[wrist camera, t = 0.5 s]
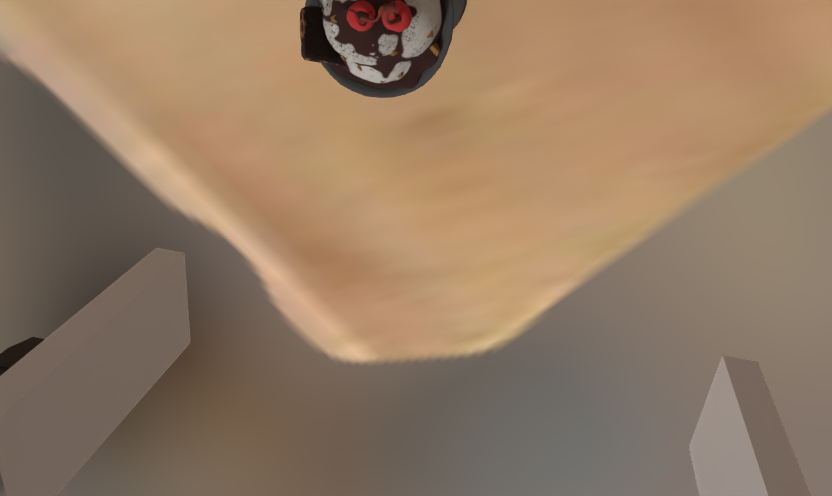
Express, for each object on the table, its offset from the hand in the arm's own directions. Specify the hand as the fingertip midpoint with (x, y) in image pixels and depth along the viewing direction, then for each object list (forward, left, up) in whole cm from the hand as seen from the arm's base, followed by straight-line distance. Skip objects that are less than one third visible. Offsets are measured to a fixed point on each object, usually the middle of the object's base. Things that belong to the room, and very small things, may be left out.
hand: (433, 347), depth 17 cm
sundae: (-6, -5, -27) cm, 28 cm away
